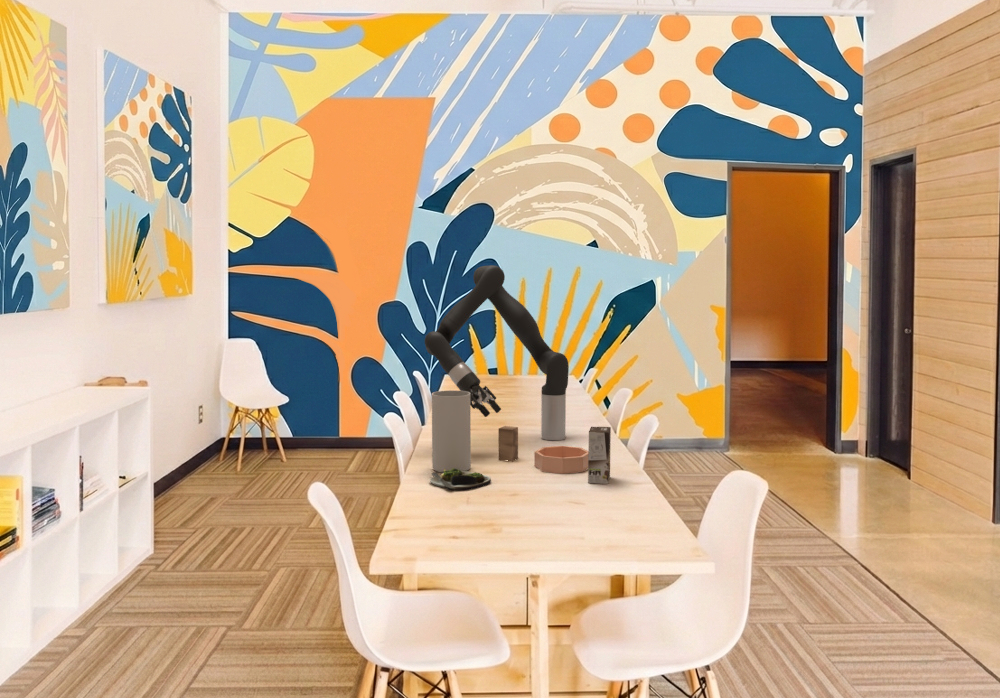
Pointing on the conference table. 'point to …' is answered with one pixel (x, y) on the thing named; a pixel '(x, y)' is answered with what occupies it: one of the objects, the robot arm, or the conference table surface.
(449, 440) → the cylinder vase
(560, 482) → the conference table surface
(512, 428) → the walnut block
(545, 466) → the bowl
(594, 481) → the coffee box
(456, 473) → the salad plate
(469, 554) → the conference table surface
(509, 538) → the conference table surface
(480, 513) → the conference table surface
